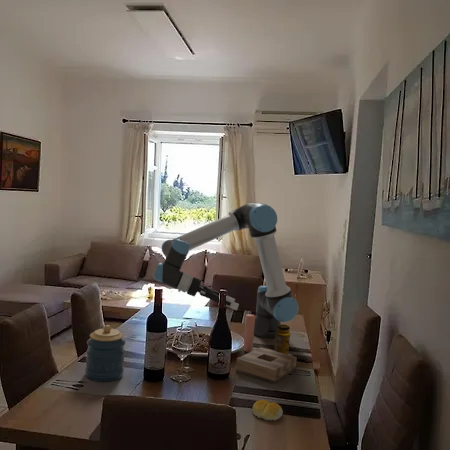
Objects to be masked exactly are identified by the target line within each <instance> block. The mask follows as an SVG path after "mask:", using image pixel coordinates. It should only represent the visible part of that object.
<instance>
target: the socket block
mask: <svg viewBox="0 0 450 450" xmlns="http://www.w3.org/2000/svg"><path fill="white" fill-rule="evenodd" d="M297 360H298V359H297V356H294V355H287V354H283V353H280V352H276V351H274V350H272V349H268V348H266V347H261V346H260V347H257V348H255V349H253V350H252V351H251V352H246V353H245V354H244V355H241V356H239V357H237V358H236V364H235V365H236V366H235V373H238V374H241V375H245V376H249V377H252V378H255V379H257V378H258V380H261V381H265V382H267V381H268V382H267V383H270V382H271V383H270V384H273V383H275V384H276V383H278V382H279V381H281V380H282V379H284V378H285V377H286V376H288V375H290V374H291V373H294V371H296V368H297ZM277 381H278V382H277Z"/></svg>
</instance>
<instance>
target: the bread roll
mask: <svg viewBox="0 0 450 450" xmlns="http://www.w3.org/2000/svg"><path fill="white" fill-rule="evenodd" d="M252 413H253V415H254V416H255V417H256V416H257V417H256V418H259V419H263V420H264V421H269V420H270V421H271V422H272V420H273V421H277V420H279V419H281V417H282V416H283V413H284V411H283V408H282V406H281V405H279V404H278V403H277V402H274V401H273V402H271V401H269V400H267V399H259V400H257V401H255V402H254V403H253V406H252ZM270 421H269V422H270Z"/></svg>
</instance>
